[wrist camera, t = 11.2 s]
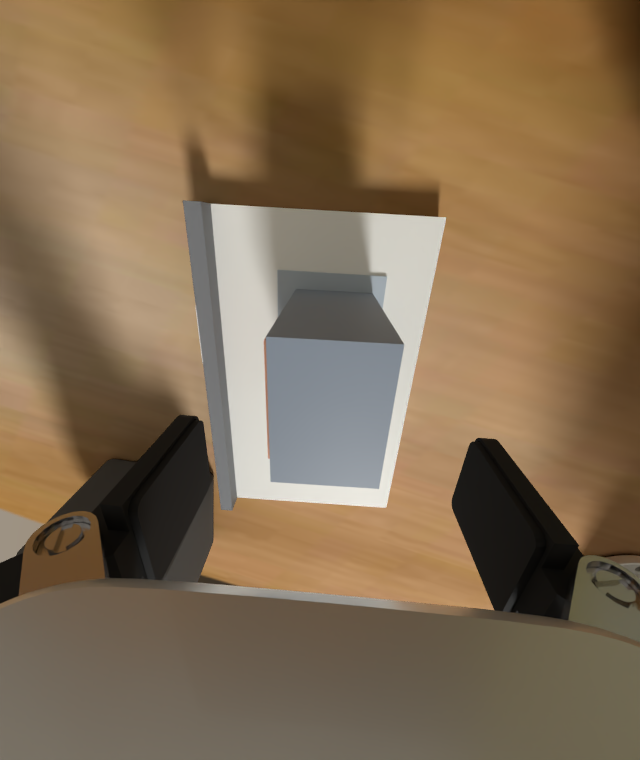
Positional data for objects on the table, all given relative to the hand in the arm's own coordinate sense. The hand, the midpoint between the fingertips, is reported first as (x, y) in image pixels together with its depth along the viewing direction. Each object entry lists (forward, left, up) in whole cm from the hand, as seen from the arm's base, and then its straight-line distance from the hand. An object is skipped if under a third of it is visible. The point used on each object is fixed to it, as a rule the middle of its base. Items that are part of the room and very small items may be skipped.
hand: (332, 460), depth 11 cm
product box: (0, 0, -12) cm, 12 cm away
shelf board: (-4, +1, -14) cm, 14 cm away
